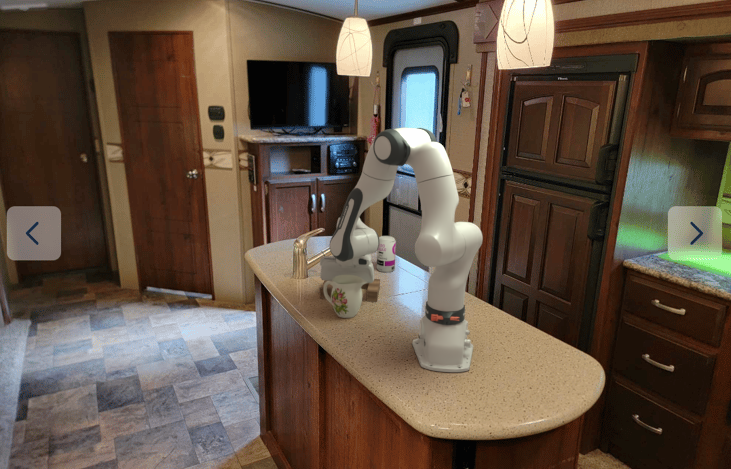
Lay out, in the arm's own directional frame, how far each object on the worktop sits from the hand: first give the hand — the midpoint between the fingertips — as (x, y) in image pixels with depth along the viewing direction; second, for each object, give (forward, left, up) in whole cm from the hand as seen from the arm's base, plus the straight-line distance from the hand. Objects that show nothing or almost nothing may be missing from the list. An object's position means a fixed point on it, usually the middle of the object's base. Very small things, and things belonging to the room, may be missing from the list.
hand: (347, 291), depth 183 cm
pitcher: (-11, -1, -4) cm, 12 cm away
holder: (+8, 0, -4) cm, 9 cm away
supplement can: (+38, -12, -4) cm, 41 cm away
